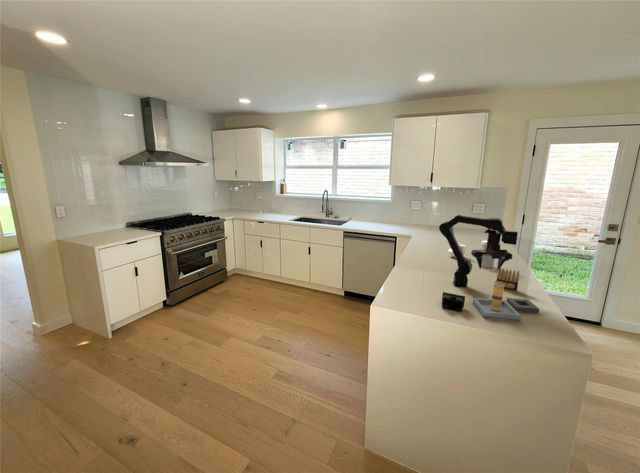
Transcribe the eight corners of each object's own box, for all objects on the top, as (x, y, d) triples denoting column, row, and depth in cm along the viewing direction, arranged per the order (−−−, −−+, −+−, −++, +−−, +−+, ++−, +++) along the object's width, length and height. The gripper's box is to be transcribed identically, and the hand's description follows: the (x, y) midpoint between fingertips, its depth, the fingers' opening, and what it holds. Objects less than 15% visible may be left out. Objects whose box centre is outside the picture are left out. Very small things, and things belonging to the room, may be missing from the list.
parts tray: (483, 318, 131) (484, 312, 130) (472, 303, 145) (473, 297, 145) (519, 321, 129) (520, 315, 128) (504, 305, 143) (505, 300, 142)
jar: (488, 264, 205) (492, 240, 201) (495, 269, 196) (499, 243, 191) (474, 263, 206) (478, 239, 202) (480, 268, 196) (484, 243, 192)
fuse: (490, 310, 136) (494, 283, 132) (489, 307, 139) (494, 280, 136) (500, 312, 134) (505, 285, 131) (499, 309, 138) (504, 281, 134)
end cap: (463, 307, 142) (465, 294, 140) (463, 313, 136) (464, 300, 134) (442, 302, 146) (443, 290, 145) (440, 308, 140) (441, 295, 139)
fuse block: (515, 311, 137) (516, 306, 137) (505, 302, 147) (506, 297, 146) (538, 313, 136) (539, 308, 135) (527, 304, 145) (528, 299, 145)
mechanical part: (444, 256, 224) (446, 241, 221) (455, 254, 229) (457, 240, 226) (456, 260, 214) (458, 245, 211) (467, 258, 219) (469, 243, 216)
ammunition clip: (494, 287, 166) (498, 267, 163) (495, 286, 167) (498, 266, 165) (517, 291, 160) (520, 271, 157) (516, 290, 162) (520, 270, 159)
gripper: (480, 244, 147) (476, 273, 151) (520, 246, 144) (514, 275, 148) (472, 239, 158) (469, 266, 161) (509, 241, 155) (504, 268, 159)
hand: (489, 269), depth 157 cm, fingers open, 9 cm apart
